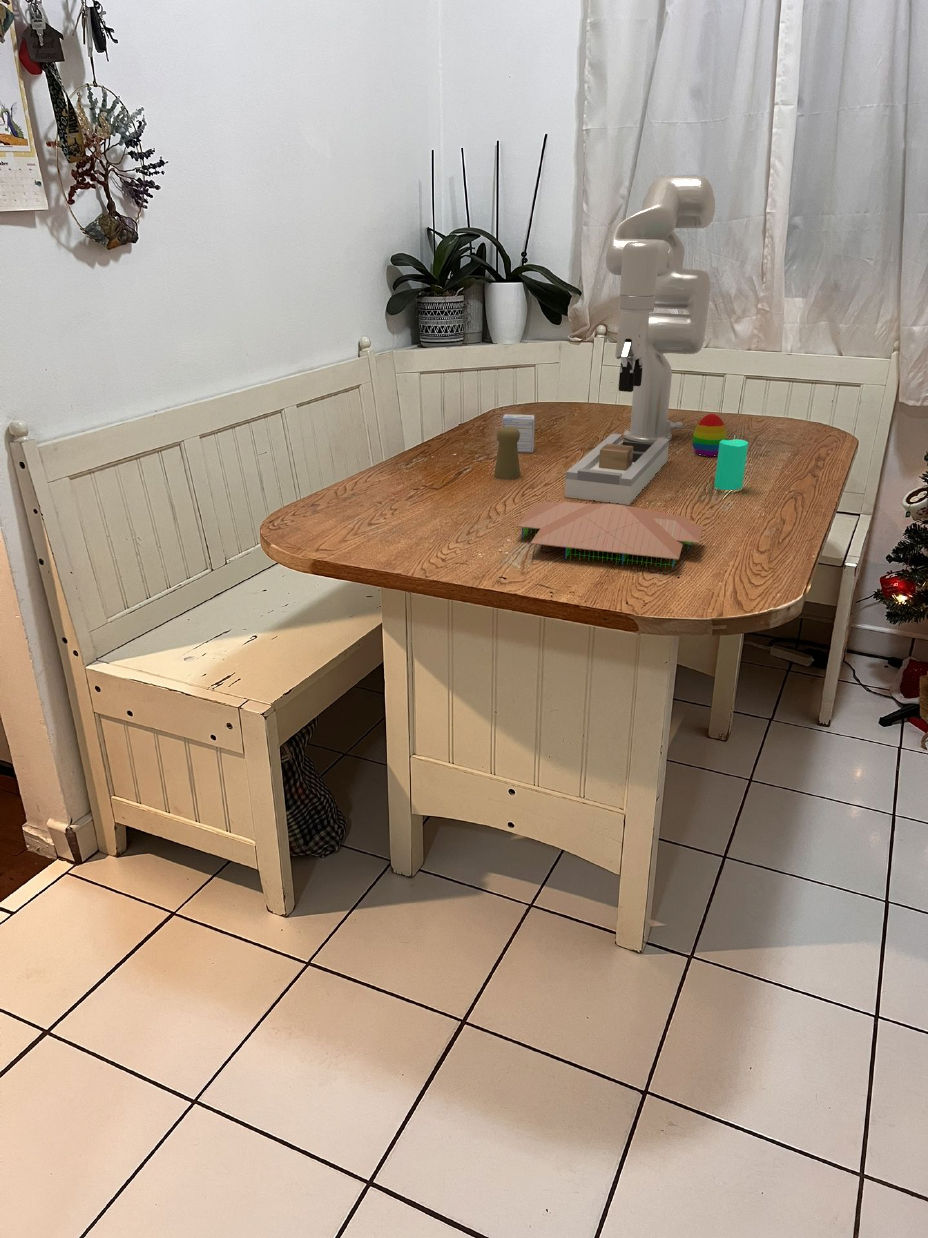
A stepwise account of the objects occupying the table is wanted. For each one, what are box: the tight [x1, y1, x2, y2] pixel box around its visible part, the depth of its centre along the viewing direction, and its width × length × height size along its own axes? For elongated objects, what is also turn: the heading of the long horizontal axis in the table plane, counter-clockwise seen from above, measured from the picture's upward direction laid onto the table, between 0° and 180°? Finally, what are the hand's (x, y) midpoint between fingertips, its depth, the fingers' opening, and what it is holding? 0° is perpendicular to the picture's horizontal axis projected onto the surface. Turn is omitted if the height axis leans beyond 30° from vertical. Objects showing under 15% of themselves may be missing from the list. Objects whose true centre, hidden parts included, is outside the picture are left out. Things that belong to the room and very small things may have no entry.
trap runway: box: [564, 433, 670, 506], centre depth 209 cm, size 38×14×6 cm, turn 157°
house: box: [516, 501, 704, 569], centre depth 169 cm, size 23×33×8 cm
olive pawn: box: [493, 427, 521, 480], centre depth 209 cm, size 6×6×11 cm
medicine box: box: [501, 413, 536, 454], centre depth 231 cm, size 8×4×9 cm, turn 84°
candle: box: [713, 434, 749, 490], centre depth 201 cm, size 6×6×12 cm
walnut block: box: [599, 444, 633, 471], centre depth 204 cm, size 6×6×4 cm
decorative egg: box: [692, 413, 728, 456], centre depth 229 cm, size 8×8×10 cm
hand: (629, 387), depth 205 cm, fingers open, 6 cm apart
